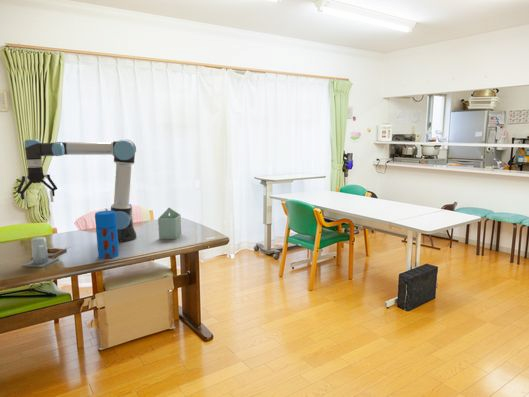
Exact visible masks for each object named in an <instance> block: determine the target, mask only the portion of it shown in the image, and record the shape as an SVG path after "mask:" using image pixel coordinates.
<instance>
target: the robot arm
mask: <svg viewBox="0 0 529 397" xmlns="http://www.w3.org/2000/svg"><path fill="white" fill-rule="evenodd" d="M24 152H25V160H26V167H27V168H26V170H27V176H23V175H22V176H21V180H20V182H19V185H18V187H17V190H16V193H17V194H20V199H21V200H23V204H24V206H27V205H28V204H27V197H26V193H25V192H26V191H27V190H28V188H29V187H30V186H31V185H32V184H41V183H42V184H43V185H45V186H46V187H47V188H48V189H49V196H50V202H51V203H54V197H55V191H56V190H58V187H57V185H56V184H55V182H53V180H52V179H51V175H50V173H49V174H48V173H47V174H44V171H43V170H44V167H42V166H43V160H42V157H61V156H64V155H65V156H66V155H68V156H69V155H71V156H73V155H74V156H75V155H77V156H79V155H81V156H85V155H86V156H87V155H89V156H90V155H91V156H92V155H93V156H94V155H95V156H96V155H99V156H100V155H101V156H103V155H104V156H107V155H109V156H110V155H112V157H113V163H115V166H116V167H115V176H114V177H115V178H114V179H115V181H114V194H113V195H114V196H113V197H114V199H113V204H111V205H110V211H115V213H116V221H117V235H118V242H129V241H132V240H135V239H137V237H138V236H137V232H136V230H135V227H134V222H133V206H132V204H131V203H130V194H131V193H130V191H131V178H132V166H133V165H134V164H135V156H136V152H137V147H136V144H135V143H134V141H132V140H130V139H119V140H112V141H111V142H109V141H108V142H106V141H105V142H102V141H101V142H99V141H96V142H94V141H93V142H92V141H90V142H88V141H87V142H84V141H83V142H80V141H77V142H75V141H73V142H71V141H69V142H66V141H65V142H62V141H57V142H56V141H55V142H41V141H40V139H25V140H24ZM27 179H28V181H27V183H26V185H25V186H24V183H25V182H26V180H27ZM44 179H47V180H48V182H49V183H50V184H51V185H50V184H49V183H47V182H46V181H45V180H44ZM23 186H24V187H23Z"/></svg>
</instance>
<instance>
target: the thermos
mask: <svg viewBox="0 0 529 397" xmlns="http://www.w3.org/2000/svg"><path fill="white" fill-rule="evenodd" d="M94 218H95V232H96V233H95V234H96V243H97V246H96V247H97V253H98V254H97V255H98V258H99V259H103V260H106V259H107V260H108V259H113V258H114V259H115V258H117V257H119V254H120V253H119V250H120V249H119V248H120V247H119V241H118V235H117V221H116V213H115V211H111V210H101V211H96V212H95V213H94Z"/></svg>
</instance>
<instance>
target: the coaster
mask: <svg viewBox="0 0 529 397" xmlns="http://www.w3.org/2000/svg"><path fill="white" fill-rule="evenodd" d="M57 261H59V258H53V259H50V258H48V262H46V263H43V264H33V260H32V261H28V262H26V263H24V264H22V265H21V267H22V268H23V267H24V268H45V267H47V266H49V265H51V264H53V263H55V262H57Z"/></svg>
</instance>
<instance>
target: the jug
mask: <svg viewBox="0 0 529 397" xmlns="http://www.w3.org/2000/svg"><path fill="white" fill-rule="evenodd" d="M47 244H48V243H47V237H46V236H35V237H32V238H31V239H30V245H31V247H30V248H31V254H32V255H31V256H32V261H33V264H43V263H46V262H48V255H49V252H47V248H48V245H47Z"/></svg>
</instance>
